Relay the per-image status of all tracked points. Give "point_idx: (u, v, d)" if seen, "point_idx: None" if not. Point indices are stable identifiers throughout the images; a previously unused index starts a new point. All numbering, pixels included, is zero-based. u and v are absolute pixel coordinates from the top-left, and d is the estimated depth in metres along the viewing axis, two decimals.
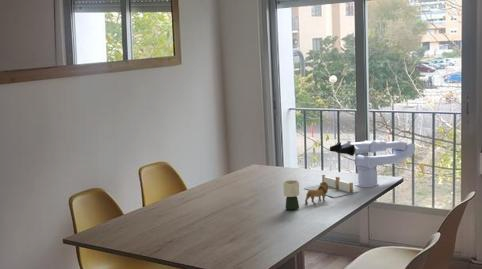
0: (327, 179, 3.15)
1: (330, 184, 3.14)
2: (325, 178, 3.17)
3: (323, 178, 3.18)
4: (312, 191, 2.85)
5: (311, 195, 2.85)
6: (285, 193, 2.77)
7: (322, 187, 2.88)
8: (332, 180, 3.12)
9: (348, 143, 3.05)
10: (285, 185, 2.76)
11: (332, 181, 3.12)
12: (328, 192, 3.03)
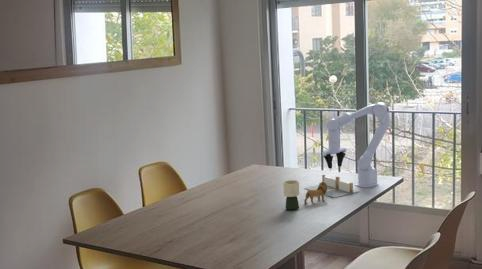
0: (327, 179, 3.15)
1: (330, 184, 3.14)
2: (325, 178, 3.17)
3: (323, 178, 3.18)
4: (311, 191, 2.85)
5: (310, 195, 2.85)
6: (285, 193, 2.77)
7: (321, 187, 2.88)
8: (332, 180, 3.12)
9: None
10: (285, 185, 2.76)
11: (332, 181, 3.12)
12: (328, 192, 3.03)
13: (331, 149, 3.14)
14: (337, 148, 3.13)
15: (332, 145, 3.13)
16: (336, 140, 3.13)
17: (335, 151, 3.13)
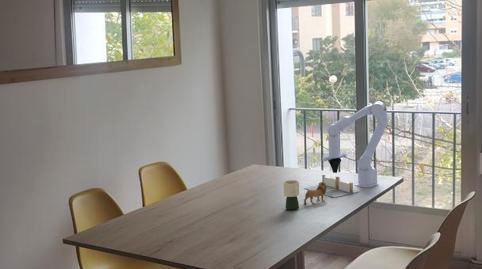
0: (327, 179, 3.15)
1: (330, 184, 3.14)
2: (325, 178, 3.17)
3: (323, 178, 3.18)
4: (311, 191, 2.85)
5: (310, 195, 2.85)
6: (285, 193, 2.77)
7: (321, 187, 2.88)
8: (332, 180, 3.12)
9: None
10: (285, 185, 2.76)
11: (332, 181, 3.12)
12: (328, 192, 3.03)
13: (331, 154, 3.14)
14: (337, 153, 3.14)
15: (332, 150, 3.14)
16: (336, 145, 3.13)
17: (335, 156, 3.14)
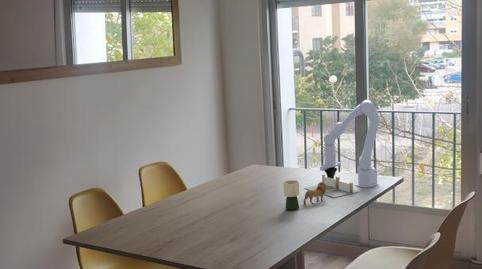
0: (327, 179, 3.15)
1: (330, 184, 3.14)
2: (325, 178, 3.17)
3: (323, 178, 3.18)
4: (310, 191, 2.85)
5: (309, 195, 2.85)
6: (285, 193, 2.77)
7: (320, 187, 2.88)
8: (332, 180, 3.12)
9: None
10: (285, 185, 2.76)
11: (332, 181, 3.12)
12: (328, 192, 3.03)
13: (328, 164, 3.13)
14: (334, 162, 3.13)
15: (329, 160, 3.12)
16: (333, 154, 3.12)
17: (332, 165, 3.13)
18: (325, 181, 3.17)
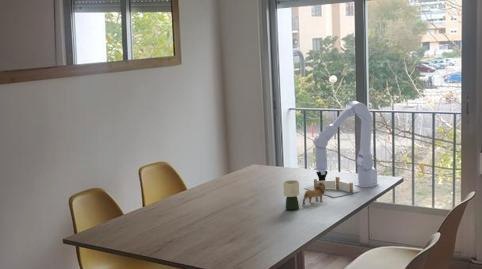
0: None
1: (327, 187, 3.09)
2: None
3: (316, 183, 3.09)
4: (310, 192, 2.85)
5: (309, 196, 2.84)
6: (285, 193, 2.77)
7: (319, 187, 2.88)
8: (330, 182, 3.09)
9: None
10: (285, 185, 2.76)
11: (331, 183, 3.09)
12: (328, 192, 3.03)
13: (323, 167, 3.07)
14: (326, 165, 3.09)
15: (324, 162, 3.07)
16: (325, 157, 3.07)
17: (327, 168, 3.08)
18: None
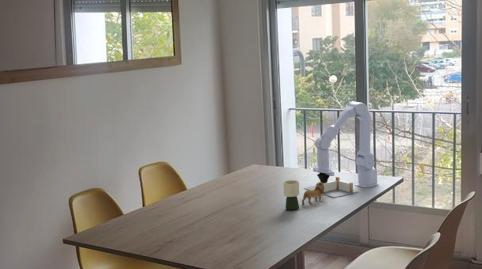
0: (327, 184, 3.05)
1: (330, 188, 3.06)
2: (324, 184, 3.04)
3: None
4: (309, 192, 2.84)
5: (308, 196, 2.84)
6: (285, 193, 2.77)
7: (318, 188, 2.87)
8: (333, 182, 3.07)
9: (319, 172, 3.04)
10: (285, 185, 2.76)
11: (333, 184, 3.07)
12: (328, 192, 3.03)
13: (328, 168, 3.03)
14: None
15: (328, 164, 3.03)
16: (328, 159, 3.02)
17: None
18: (324, 188, 3.04)
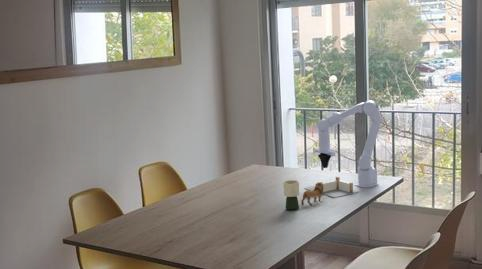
0: (327, 184, 3.05)
1: (330, 188, 3.06)
2: (324, 184, 3.04)
3: None
4: (308, 192, 2.84)
5: (307, 196, 2.84)
6: (285, 193, 2.77)
7: (318, 188, 2.87)
8: (333, 182, 3.07)
9: (320, 152, 3.15)
10: (285, 185, 2.76)
11: (333, 184, 3.07)
12: (328, 192, 3.03)
13: (329, 149, 3.15)
14: None
15: (329, 145, 3.15)
16: (326, 140, 3.13)
17: None
18: (324, 188, 3.04)
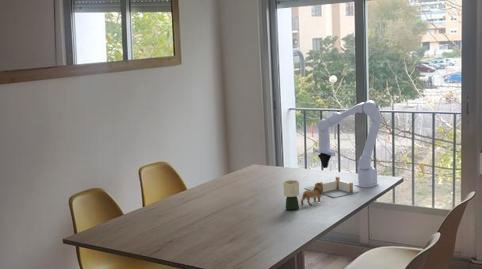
0: (327, 184, 3.05)
1: (330, 188, 3.06)
2: (324, 184, 3.04)
3: None
4: (308, 192, 2.84)
5: (307, 196, 2.84)
6: (285, 193, 2.77)
7: (317, 188, 2.87)
8: (333, 182, 3.07)
9: (320, 152, 3.15)
10: (285, 185, 2.76)
11: (333, 184, 3.07)
12: (328, 192, 3.03)
13: (329, 149, 3.15)
14: None
15: (329, 145, 3.15)
16: (326, 140, 3.13)
17: None
18: (324, 188, 3.04)
